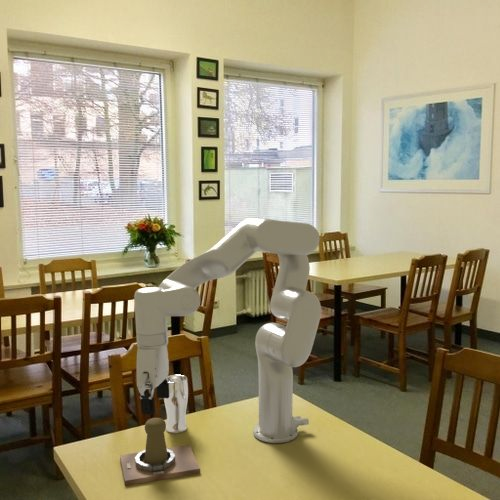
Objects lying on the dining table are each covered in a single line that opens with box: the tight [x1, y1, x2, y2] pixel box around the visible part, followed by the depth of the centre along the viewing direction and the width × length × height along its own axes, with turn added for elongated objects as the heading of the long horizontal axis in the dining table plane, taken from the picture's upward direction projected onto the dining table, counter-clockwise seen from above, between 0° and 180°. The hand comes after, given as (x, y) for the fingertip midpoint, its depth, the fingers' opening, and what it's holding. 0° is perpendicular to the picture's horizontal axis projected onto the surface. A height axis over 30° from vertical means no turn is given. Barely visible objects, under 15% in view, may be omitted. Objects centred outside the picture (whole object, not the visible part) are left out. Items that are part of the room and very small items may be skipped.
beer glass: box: [163, 374, 189, 434], centre depth 159 cm, size 7×7×15 cm
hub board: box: [119, 444, 201, 486], centre depth 138 cm, size 18×13×1 cm
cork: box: [144, 417, 168, 464], centre depth 138 cm, size 6×6×11 cm
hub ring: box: [135, 449, 175, 472], centre depth 138 cm, size 10×10×2 cm
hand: (156, 405), depth 137 cm, fingers open, 9 cm apart
